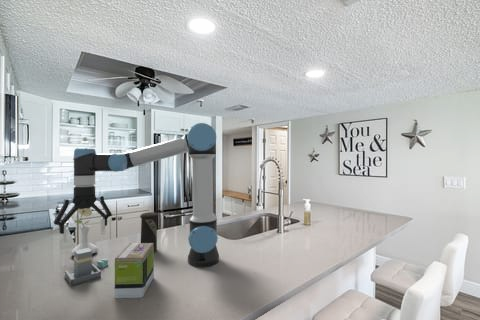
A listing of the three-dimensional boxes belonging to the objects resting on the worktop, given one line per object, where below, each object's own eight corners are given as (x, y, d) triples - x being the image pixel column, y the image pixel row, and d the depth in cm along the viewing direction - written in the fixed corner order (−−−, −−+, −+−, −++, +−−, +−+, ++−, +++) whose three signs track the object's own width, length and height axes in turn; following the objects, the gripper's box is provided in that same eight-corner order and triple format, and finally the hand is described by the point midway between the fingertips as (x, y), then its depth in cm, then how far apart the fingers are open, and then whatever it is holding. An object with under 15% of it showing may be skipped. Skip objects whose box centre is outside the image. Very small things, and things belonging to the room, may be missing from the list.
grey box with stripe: (91, 275, 100) (92, 250, 100) (77, 279, 97) (77, 254, 97) (87, 271, 104) (88, 247, 104) (73, 275, 100) (74, 250, 100)
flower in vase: (102, 252, 126) (103, 204, 126) (80, 260, 115) (81, 207, 115) (86, 248, 131) (87, 201, 131) (63, 255, 121) (64, 205, 121)
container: (151, 254, 125) (152, 215, 125) (135, 252, 127) (136, 214, 127) (160, 248, 133) (161, 212, 133) (145, 246, 135) (146, 210, 135)
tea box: (129, 278, 100) (130, 242, 100) (154, 277, 101) (155, 242, 101) (113, 299, 85) (114, 256, 85) (142, 298, 86) (143, 256, 86)
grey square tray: (100, 277, 100) (100, 271, 100) (71, 286, 93) (71, 279, 93) (92, 268, 107) (92, 263, 107) (64, 276, 100) (64, 270, 100)
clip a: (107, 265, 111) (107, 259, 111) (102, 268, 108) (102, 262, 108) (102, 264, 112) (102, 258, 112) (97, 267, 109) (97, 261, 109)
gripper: (113, 183, 112) (113, 229, 112) (44, 187, 94) (44, 242, 94) (119, 184, 107) (119, 232, 107) (48, 189, 89) (48, 247, 89)
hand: (84, 237), depth 100 cm, fingers open, 13 cm apart
